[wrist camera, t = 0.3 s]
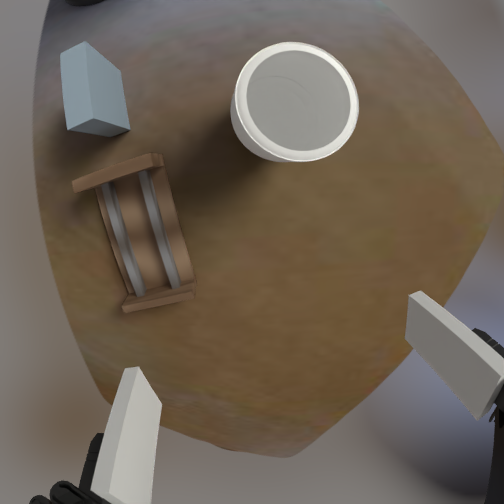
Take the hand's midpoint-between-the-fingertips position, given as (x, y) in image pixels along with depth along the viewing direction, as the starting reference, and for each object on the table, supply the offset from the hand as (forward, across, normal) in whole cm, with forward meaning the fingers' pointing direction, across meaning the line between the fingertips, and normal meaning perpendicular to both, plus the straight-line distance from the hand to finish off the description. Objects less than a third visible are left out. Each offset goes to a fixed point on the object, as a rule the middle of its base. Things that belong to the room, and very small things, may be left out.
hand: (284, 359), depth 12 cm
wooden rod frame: (+27, -12, +2) cm, 30 cm away
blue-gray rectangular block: (+27, -12, +20) cm, 36 cm away
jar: (+27, +7, +12) cm, 31 cm away
